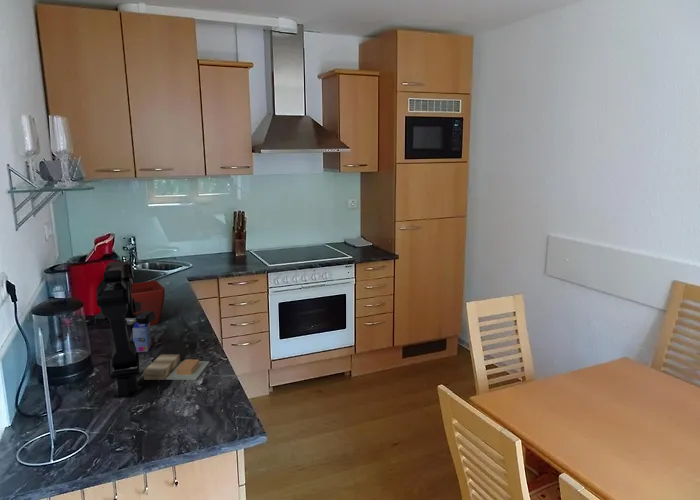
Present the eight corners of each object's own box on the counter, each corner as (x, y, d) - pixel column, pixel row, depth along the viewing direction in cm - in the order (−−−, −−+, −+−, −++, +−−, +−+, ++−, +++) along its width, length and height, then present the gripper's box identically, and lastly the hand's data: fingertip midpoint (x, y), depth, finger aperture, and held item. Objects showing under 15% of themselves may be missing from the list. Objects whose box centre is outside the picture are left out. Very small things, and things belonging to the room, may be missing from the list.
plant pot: (159, 313, 235) (156, 279, 231) (168, 324, 219) (165, 288, 216) (116, 321, 225) (111, 286, 221) (122, 334, 209) (118, 296, 206)
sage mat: (196, 379, 166) (196, 378, 166) (165, 379, 166) (165, 378, 166) (209, 362, 180) (209, 361, 179) (181, 362, 180) (181, 361, 180)
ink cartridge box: (149, 351, 190) (145, 316, 187) (134, 353, 189) (130, 317, 186) (152, 342, 199) (149, 308, 196) (137, 344, 198) (134, 309, 195)
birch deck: (164, 379, 166) (163, 371, 166) (144, 379, 167) (143, 371, 166) (180, 362, 180) (179, 354, 180) (161, 361, 180) (161, 354, 180)
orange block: (176, 369, 169) (177, 374, 169) (190, 369, 168) (191, 374, 169) (185, 359, 177) (185, 364, 177) (198, 359, 176) (199, 364, 177)
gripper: (159, 290, 174) (163, 332, 177) (108, 290, 175) (113, 332, 178) (145, 300, 163) (150, 344, 166) (91, 300, 164) (96, 344, 167)
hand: (127, 340), depth 170 cm, fingers closed
